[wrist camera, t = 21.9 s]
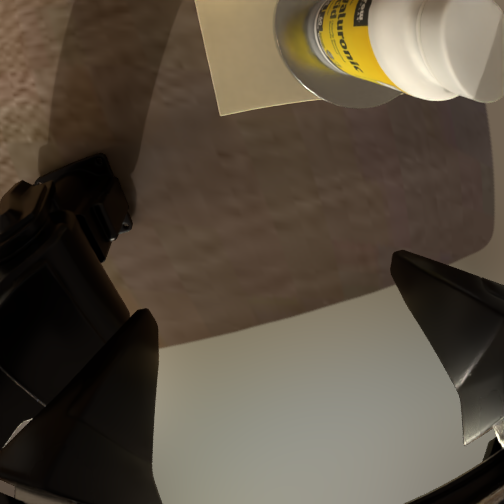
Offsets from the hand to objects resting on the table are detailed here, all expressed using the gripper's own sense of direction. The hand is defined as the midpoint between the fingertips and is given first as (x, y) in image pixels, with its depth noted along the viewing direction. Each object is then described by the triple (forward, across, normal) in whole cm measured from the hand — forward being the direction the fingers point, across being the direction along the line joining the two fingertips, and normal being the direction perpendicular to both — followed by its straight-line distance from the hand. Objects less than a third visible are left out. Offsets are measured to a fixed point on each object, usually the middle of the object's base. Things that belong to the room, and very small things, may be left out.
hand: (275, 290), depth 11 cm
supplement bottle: (+10, +8, +8) cm, 15 cm away
